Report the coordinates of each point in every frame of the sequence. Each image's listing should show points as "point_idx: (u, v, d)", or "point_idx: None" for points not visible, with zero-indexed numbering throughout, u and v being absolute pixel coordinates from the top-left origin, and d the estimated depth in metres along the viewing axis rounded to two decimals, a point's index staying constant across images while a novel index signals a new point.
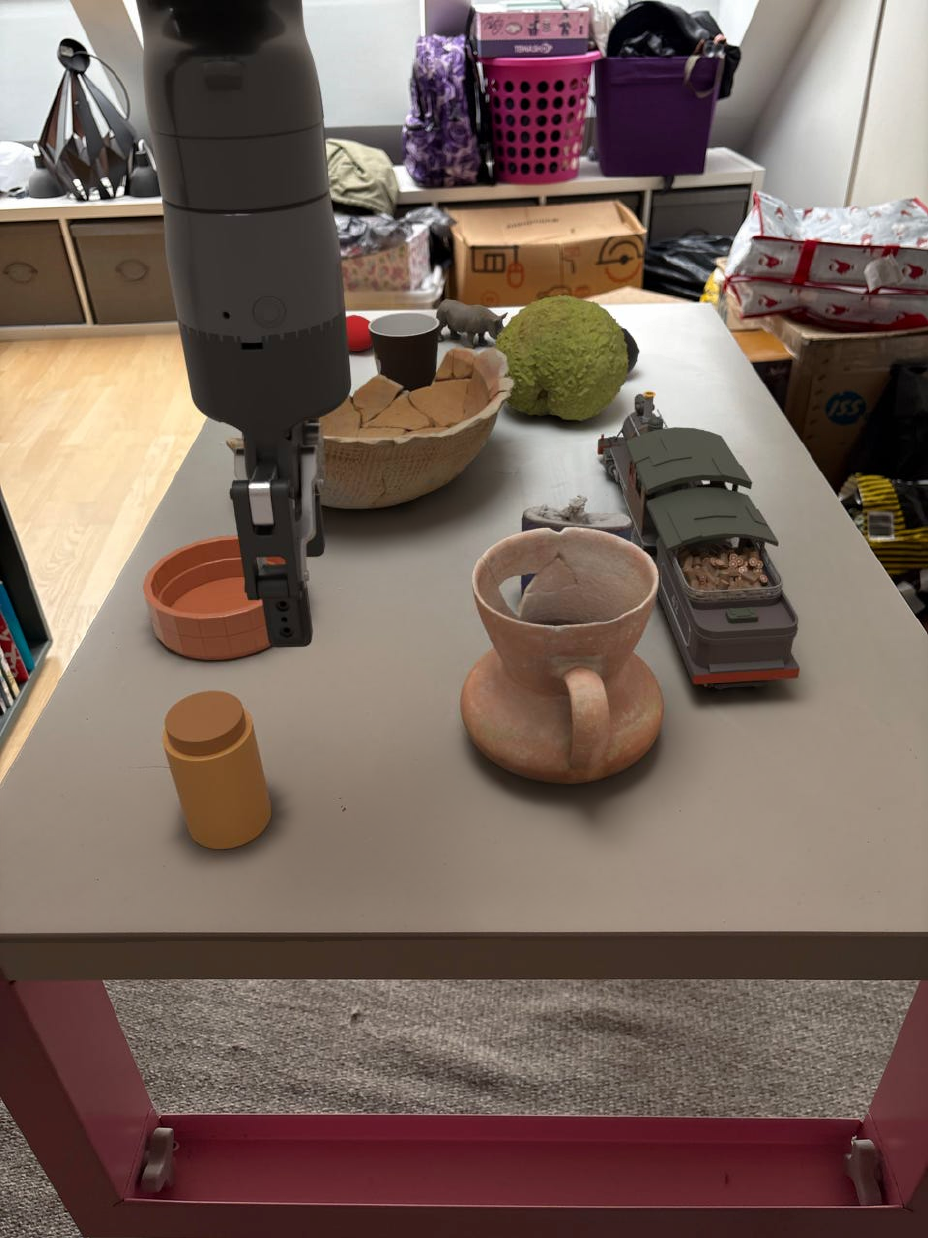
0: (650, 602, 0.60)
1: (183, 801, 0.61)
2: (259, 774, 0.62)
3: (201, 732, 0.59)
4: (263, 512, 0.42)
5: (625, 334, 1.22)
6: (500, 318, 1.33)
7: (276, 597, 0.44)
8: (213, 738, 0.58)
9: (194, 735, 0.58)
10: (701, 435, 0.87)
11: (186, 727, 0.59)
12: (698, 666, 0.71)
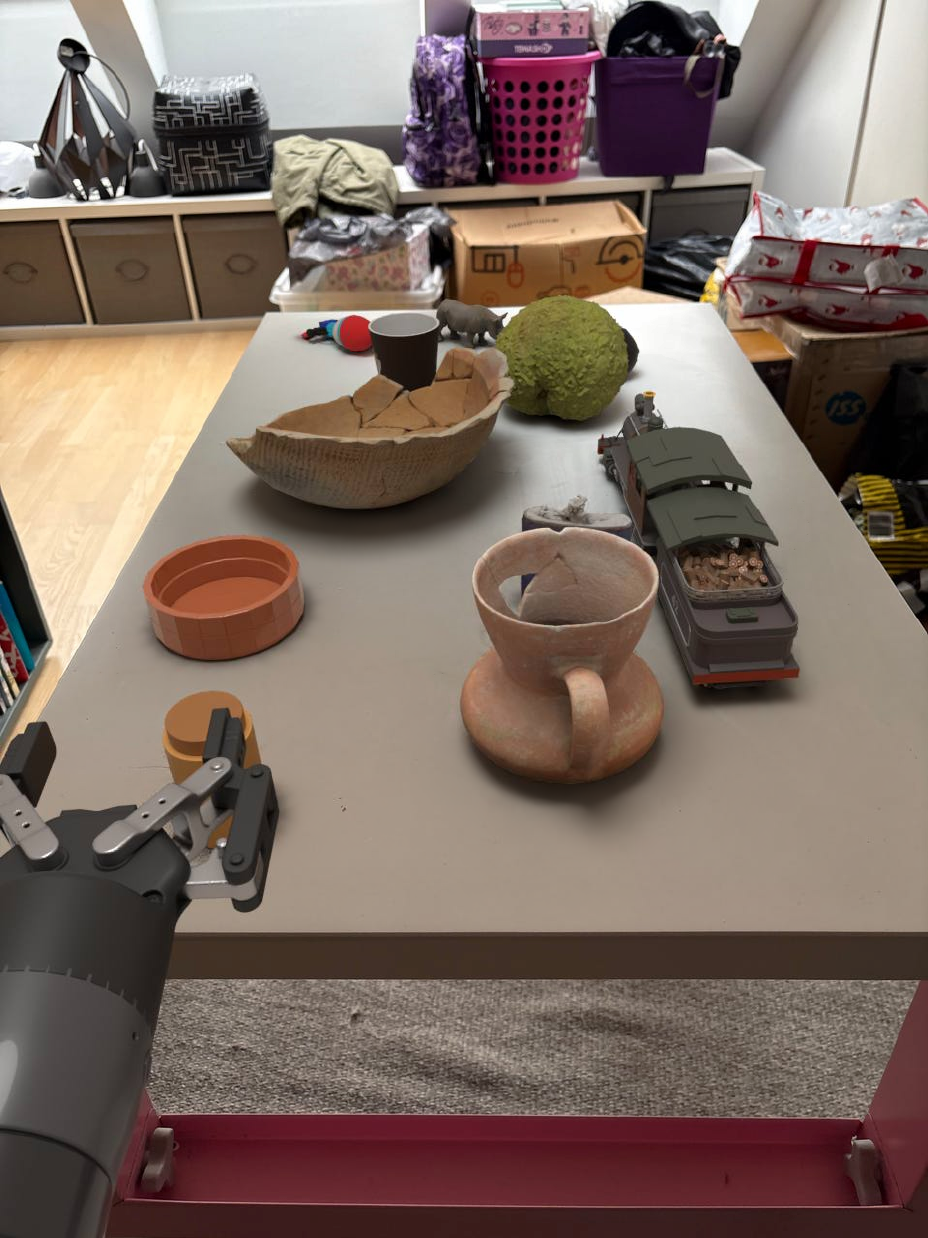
0: (650, 602, 0.60)
1: None
2: None
3: (201, 732, 0.59)
4: None
5: (625, 334, 1.22)
6: (500, 318, 1.33)
7: None
8: None
9: (194, 735, 0.58)
10: (701, 435, 0.87)
11: (186, 727, 0.59)
12: (698, 666, 0.71)
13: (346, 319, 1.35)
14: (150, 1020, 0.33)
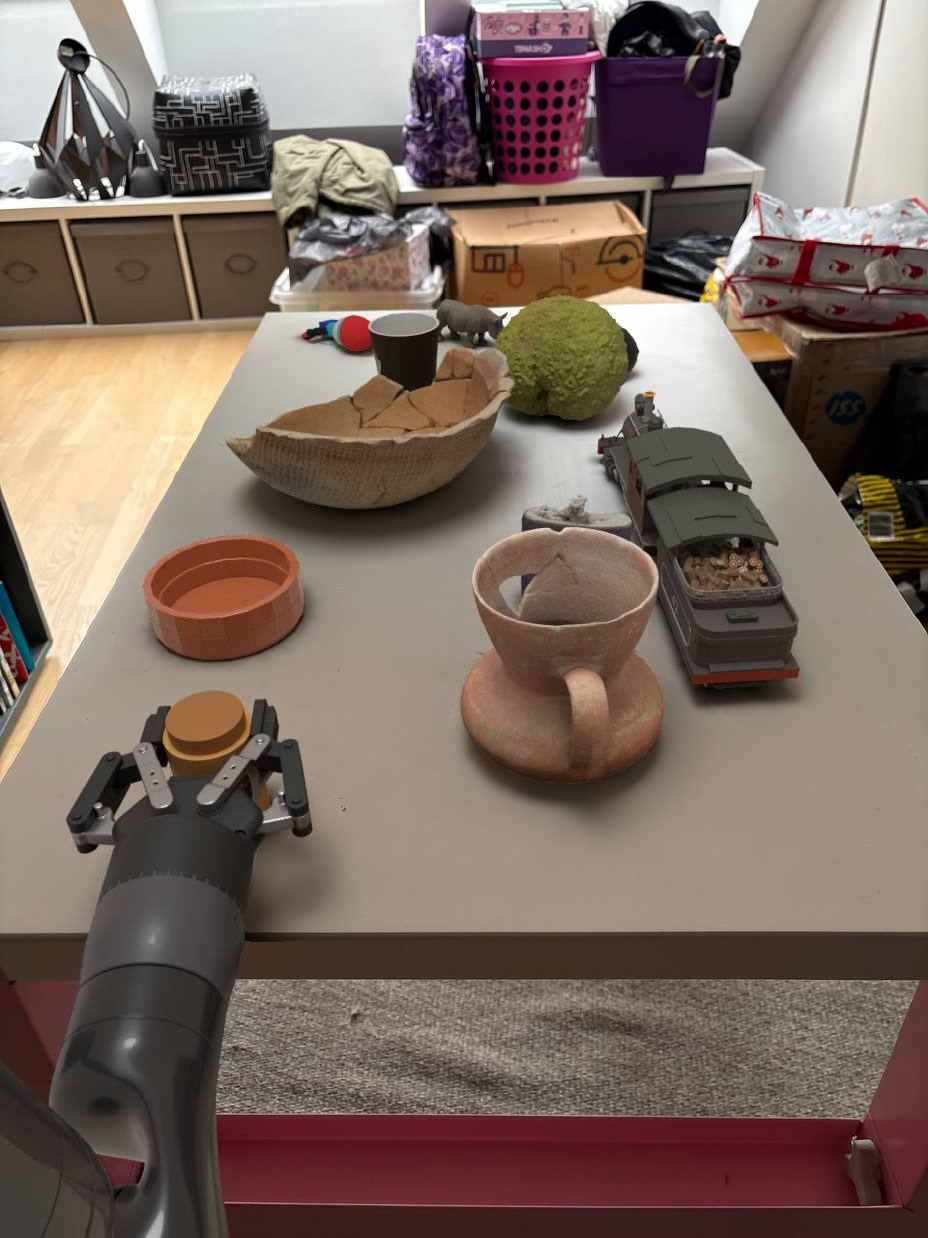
0: (650, 602, 0.60)
1: None
2: None
3: (202, 731, 0.59)
4: None
5: (625, 334, 1.22)
6: (500, 318, 1.33)
7: None
8: (214, 738, 0.58)
9: (195, 734, 0.58)
10: (701, 435, 0.87)
11: (186, 726, 0.59)
12: (698, 666, 0.71)
13: (346, 319, 1.35)
14: (243, 912, 0.50)
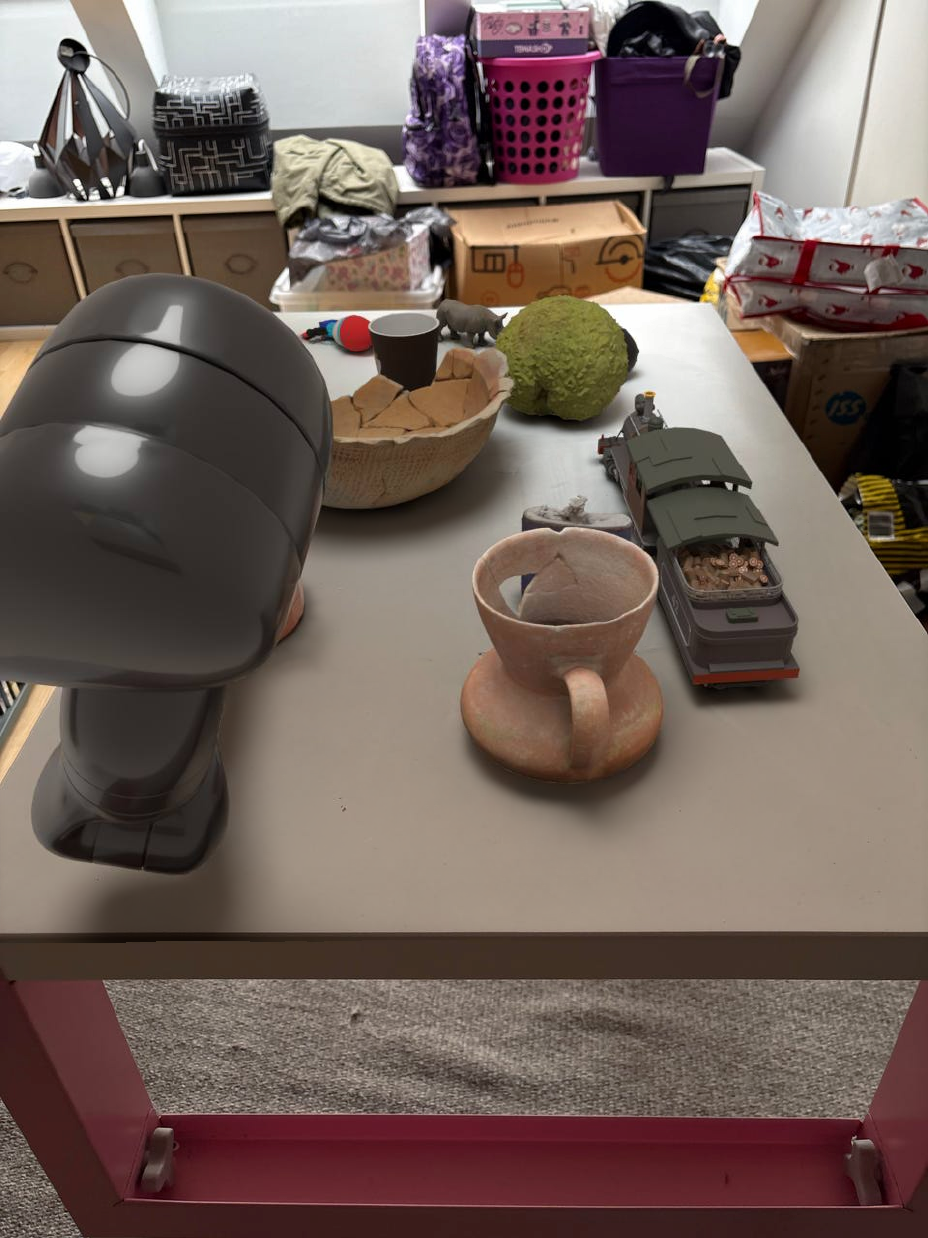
0: (650, 602, 0.60)
1: None
2: None
3: None
4: None
5: (625, 334, 1.22)
6: (500, 318, 1.33)
7: None
8: None
9: None
10: (701, 435, 0.87)
11: None
12: (698, 666, 0.71)
13: (346, 319, 1.35)
14: None
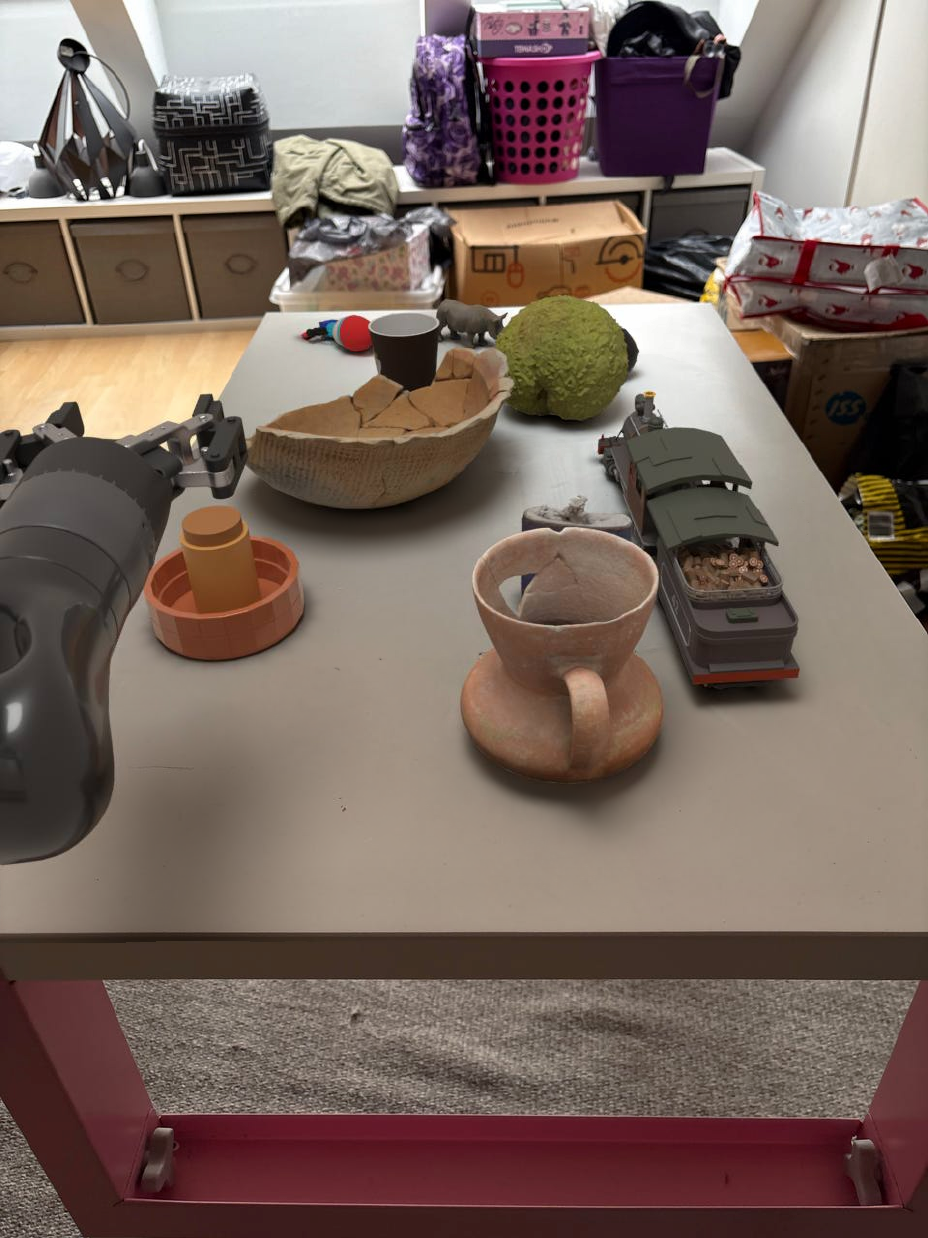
0: (650, 602, 0.60)
1: (195, 588, 0.81)
2: (253, 570, 0.81)
3: (209, 529, 0.78)
4: None
5: (625, 334, 1.22)
6: (500, 318, 1.33)
7: None
8: (218, 532, 0.77)
9: (204, 530, 0.77)
10: (701, 435, 0.87)
11: (197, 526, 0.78)
12: (698, 666, 0.71)
13: (346, 319, 1.35)
14: (154, 529, 0.49)
